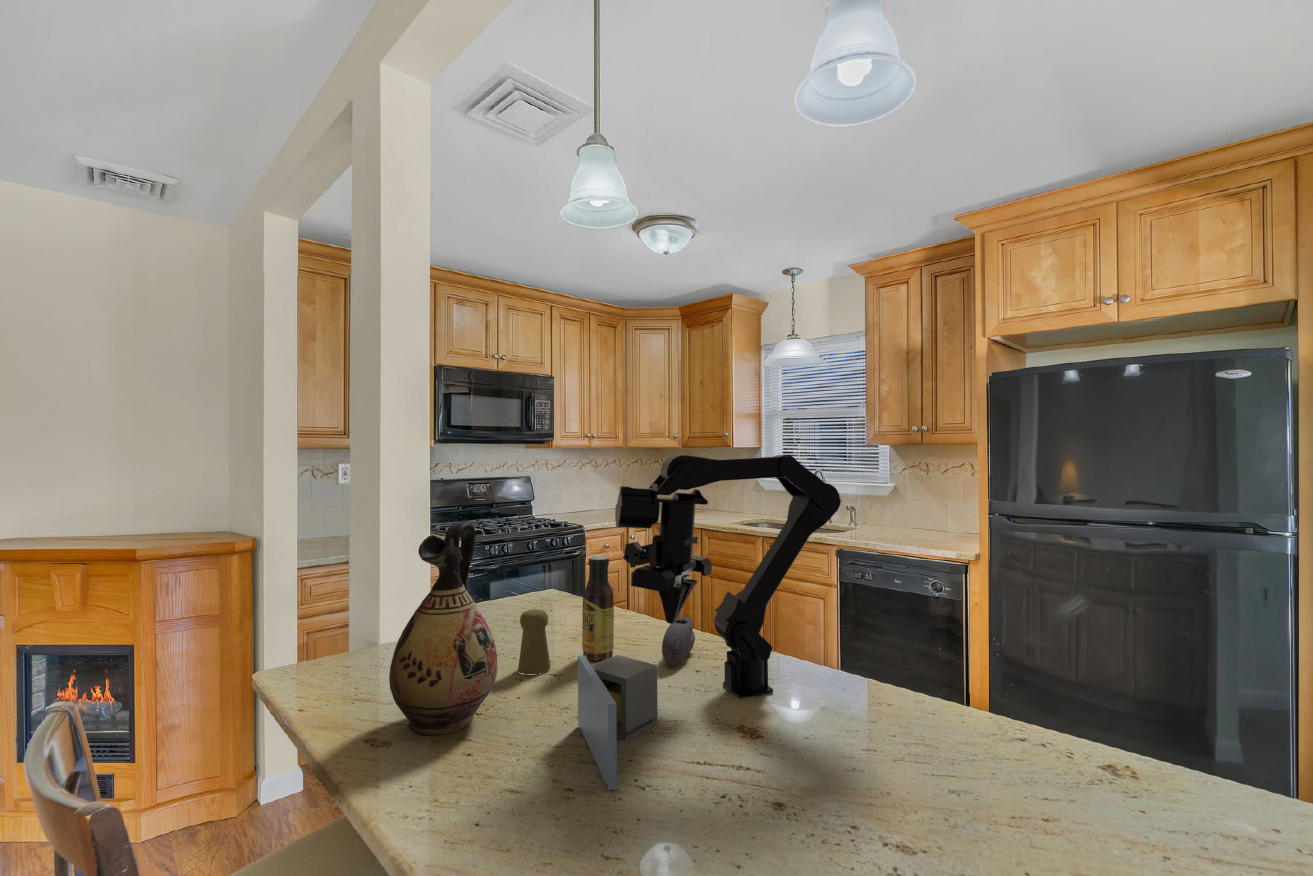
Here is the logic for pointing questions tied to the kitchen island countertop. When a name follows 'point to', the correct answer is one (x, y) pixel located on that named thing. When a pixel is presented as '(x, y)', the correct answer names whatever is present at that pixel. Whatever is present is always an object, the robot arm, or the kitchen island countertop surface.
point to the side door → (598, 720)
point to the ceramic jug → (444, 644)
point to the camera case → (630, 693)
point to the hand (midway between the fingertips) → (670, 623)
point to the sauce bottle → (598, 612)
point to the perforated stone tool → (678, 641)
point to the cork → (534, 643)
